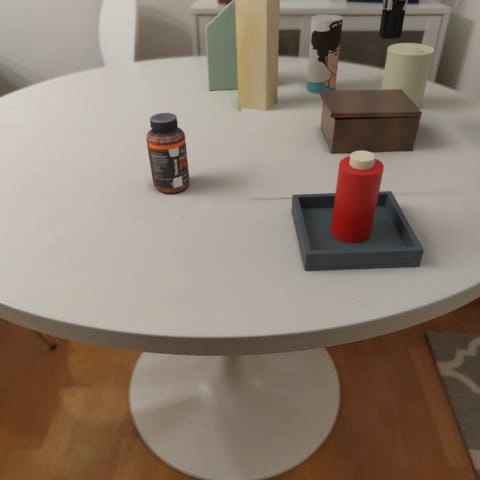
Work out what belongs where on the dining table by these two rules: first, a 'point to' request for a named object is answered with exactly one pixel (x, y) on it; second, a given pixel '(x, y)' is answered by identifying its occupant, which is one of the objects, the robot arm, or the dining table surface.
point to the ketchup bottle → (356, 196)
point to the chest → (369, 133)
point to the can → (408, 69)
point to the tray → (354, 254)
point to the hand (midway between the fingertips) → (389, 37)
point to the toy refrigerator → (257, 53)
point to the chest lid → (368, 103)
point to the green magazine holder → (222, 50)
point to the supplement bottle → (167, 154)
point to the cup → (324, 52)
